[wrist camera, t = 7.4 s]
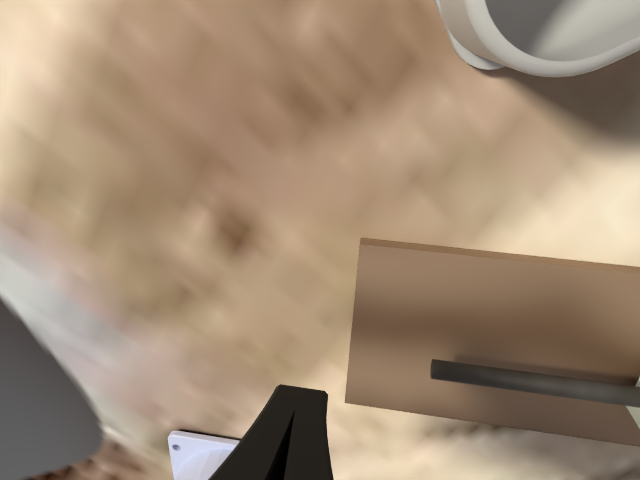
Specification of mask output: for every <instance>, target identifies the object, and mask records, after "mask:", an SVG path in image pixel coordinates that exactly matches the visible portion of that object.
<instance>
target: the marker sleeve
mask: <svg viewBox="0 0 640 480" xmlns="http://www.w3.org/2000/svg"><path fill="white" fill-rule="evenodd" d="M636 386H638V387H640V377H639V380H638V382H637V384H636ZM626 407H627V409H628V410H629V412H630V414H631V415H632V417H633V419H634V420H635V422H636V424H637V425H638V427H639V428H640V408H637V407H630V406H626Z"/></svg>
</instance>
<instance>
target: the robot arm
mask: <svg viewBox="0 0 640 480" xmlns="http://www.w3.org/2000/svg"><path fill="white" fill-rule="evenodd" d="M327 402H328V394H327V393H326V392H325V391H321V390H315V389H308V388H301V387H294V386H287V385H281V384H280V385H279V386H277V387H276V389H275V390H274V392H273V394H272V396H271V397H270V399H269V401H268V402H267V404H266V405H265V407H264V408H263V410H262V411H261V413H260V414H259V416H258V417H257V419H256V420H255V422H254V423H253V424H252V426H251V427H250V428H249V430H248V431H247V432H246V434H245V435H244V436H243V438H242V439H241V440H240V441H239V440H232V439H226V438H220V437H214V436H208V435H202V434H195V433H189V432H183V431H172V432H171V433H170V435H169V437H168V444H169V450H170V457H171V463H172V470H173V476H174V480H334V479H333V474H332V468H331V461H330V454H329V447H328V438H327V424H326V415H327Z"/></svg>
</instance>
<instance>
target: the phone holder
mask: <svg viewBox="0 0 640 480" xmlns="http://www.w3.org/2000/svg"><path fill="white" fill-rule="evenodd" d="M434 2H435V5H436V7H437V10H438V12H439V15H440V17H441V20H442V22H443V25H444V27H445V30H446V32H447V35H448V37H449V40H450V42H451V45H452V47H453V49H454V50H455V52H456V53H457V55H458V56H459V57H460V58H461V59H462V60H464V61H465V62H466V63H468V64H470V65H472V66H474V67H477V68H480V69H487V70H493V69H500V68H503V67H506V66H507V67H510V68H512V69H515V70H518V71H520V72H523V73H526V74H530V75H535V76H541V77H567V76H575V75H580V74H584V73H588V72H591V71H594V70H598V69H600V68H602V67H605V66H607V65H610V64H612V63H614V62H616V61H618V60H620V59H622V58H625V57H627V56H629V55H631V54H633V53H635V52H637V51H640V0H434Z"/></svg>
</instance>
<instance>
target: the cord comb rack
mask: <svg viewBox="0 0 640 480" xmlns="http://www.w3.org/2000/svg"><path fill="white" fill-rule="evenodd" d="M639 377H640V267H632V266H622V265H613V264H603V263H594V262H584V261H575V260H566V259H556V258H547V257H537V256H528V255H518V254H509V253H499V252H490V251H480V250H471V249H461V248H452V247H442V246H433V245H423V244H414V243H404V242H395V241H386V240H376V239H367V238H361V241H360V249H359V260H358V270H357V281H356V291H355V301H354V312H353V322H352V333H351V343H350V354H349V364H348V374H347V385H346V395H345V403H350V404H356V405H363V406H370V407H377V408H383V409H390V410H397V411H404V412H410V413H417V414H424V415H431V416H437V417H444V418H451V419H458V420H464V421H471V422H478V423H485V424H491V425H498V426H505V427H512V428H518V429H525V430H532V431H539V432H545V433H552V434H559V435H566V436H572V437H579V438H586V439H593V440H599V441H606V442H613V443H620V444H626V445H633V446H640V428H639V427H638V425H637V424H636V422H635V420H634V419H633V417H632V415H631V414H630V412H629V410H628V409H627V407H626V406H630V407H637V408H640V387H638V386H636V384H637V382H638V380H639Z"/></svg>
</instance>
